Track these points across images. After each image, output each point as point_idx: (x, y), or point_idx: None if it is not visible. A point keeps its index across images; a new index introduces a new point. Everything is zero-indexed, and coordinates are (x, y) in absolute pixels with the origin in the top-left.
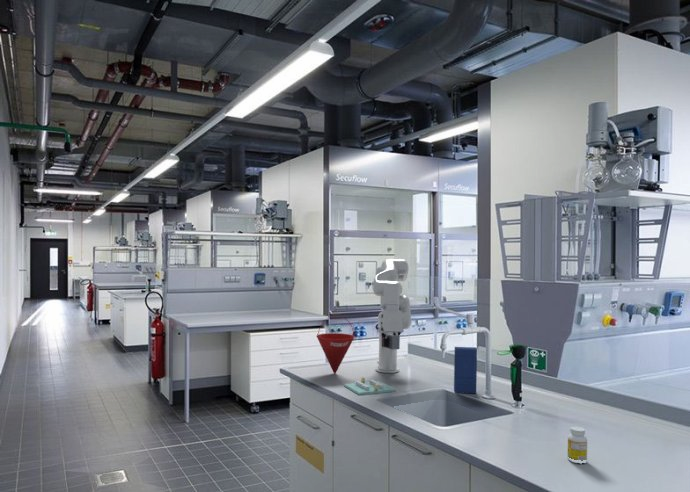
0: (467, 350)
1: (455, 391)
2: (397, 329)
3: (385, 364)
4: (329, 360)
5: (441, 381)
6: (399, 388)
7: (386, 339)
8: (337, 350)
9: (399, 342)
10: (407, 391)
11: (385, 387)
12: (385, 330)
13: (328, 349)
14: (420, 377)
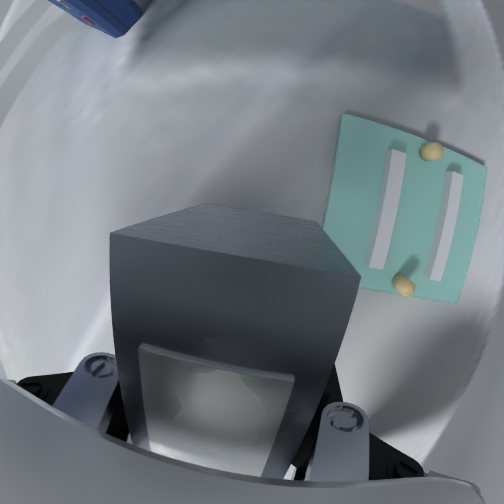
0: None
1: (140, 10)
2: (18, 442)
3: None
4: None
5: (62, 166)
6: (289, 144)
7: (319, 402)
8: None
9: (174, 213)
10: (291, 88)
11: (366, 161)
12: (475, 492)
13: None
14: (86, 257)
